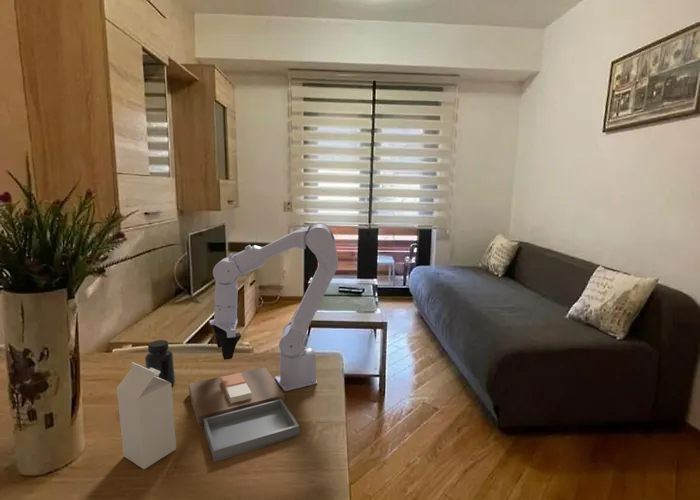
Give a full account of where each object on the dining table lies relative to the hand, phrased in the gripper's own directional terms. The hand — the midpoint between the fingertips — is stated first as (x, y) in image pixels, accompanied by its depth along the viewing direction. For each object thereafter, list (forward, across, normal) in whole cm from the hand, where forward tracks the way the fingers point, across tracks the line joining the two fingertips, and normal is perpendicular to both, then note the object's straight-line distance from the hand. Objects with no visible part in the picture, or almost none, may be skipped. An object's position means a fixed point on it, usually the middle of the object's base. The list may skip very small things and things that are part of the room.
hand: (224, 352), depth 110 cm
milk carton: (+10, +22, -19) cm, 31 cm away
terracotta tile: (+6, +8, +1) cm, 9 cm away
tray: (+8, +25, +1) cm, 26 cm away
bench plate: (+8, +10, +1) cm, 13 cm away
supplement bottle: (+10, -6, -15) cm, 19 cm away
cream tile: (+5, +13, +1) cm, 14 cm away
